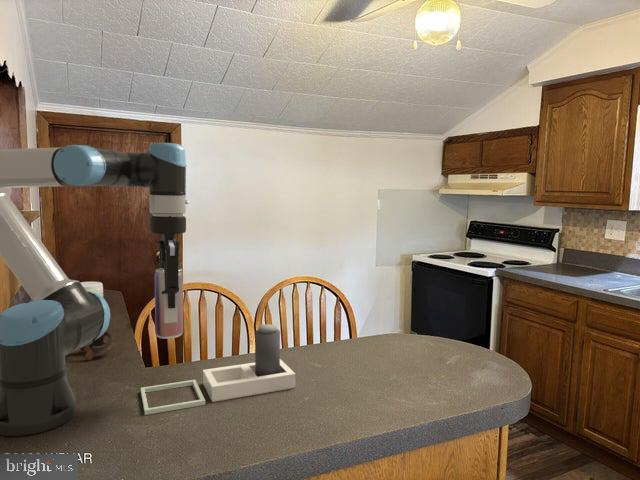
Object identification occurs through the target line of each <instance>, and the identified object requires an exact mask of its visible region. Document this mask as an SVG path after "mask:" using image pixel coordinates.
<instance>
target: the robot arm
mask: <svg viewBox="0 0 640 480" xmlns="http://www.w3.org/2000/svg"><path fill="white" fill-rule="evenodd" d="M186 176H187V162H186V149H185V147H184V146H183V145H181V144H180V143H174V142H173V143H172V142H152V143H150V144H149V147H148V151H147V152H131V151H129V152H128V151H119V150H114V149H113V150H112V149H106V148H99V147H92V146H90V145H86V144H68V145H65V146H64V147H61V146H60V147H37V148H33V147H32V148H30V147H29V148H6V149H4V148H1V149H0V257H1V259H2V260H3V262H4V263H5V264H6V266H7V268H9V270H10V271H11V273H12V274H13V275H14V276H15V279H17V281H18V282H19V284H20V285H21V287H22V288H23V289H24V290H25V292H26V293H27V295H29V297H30V299H31V301H29V302H23V303H19V304H16V305H13V306H11V307H8V308H6V309H5V310H3V311H2V312H0V436H5V437H20V436H21V437H22V436H30V435H34V434H38V433H39V434H40V433H44V432H46V431H49V430H53V429H54V428H57V427H60V426H61V425H62V426H63V424H65V423H66V422H68V421H70V420H71V419H72V418H74V416H75V415H76V413H77V399H76V396H75V394H74V391H73V390H72V388H71V386H70V383H69V380H68V378H67V375H66V356H67V355H69V354H71V353H73V352H76V351H77V350H80V349H79V348H81V347H83V346H85V345H89V344H91V343H92V342H93V341H95V340H96V339H97V338H99V337H100V336H102V335H103V334H104V333H105V331H108V329H109V328H108V327H109V325H110V321H111V311H110V310H111V309H110V307H109V304H108V302H107V301H106V299H105V298H104V296H103V297H102V296H100V295H99V294H97V293H93V292H87V291H86V290H85V289H84V287H83V286H82V284H81V283H80V281H79V280H74V279H70V278H69V277H68V276H67V275H66V273H65V271H64V270H63V269H62V268H61V266H60V265H59V264H58V262H57V261H56V259H55V258H54V257H53V255H52V254H51V253H50V251H49V250H48V249H47V247H46V246H45V245H44V243H43V242H42V240H41V239H40V238H39V236H38V235H37V234H36V232H35V231H34V230H33V228H32V226H31V225H30V224H29V223H28V221H27V220H26V218H25V217H24V216H23V214H22V213H21V211H20V210H19V209H18V207H17V206H16V205H15V203H14V202H13V201H12V199H11V196H12V192H13V190H12V188H45V187H46V188H47V187H48V188H51V187H110V188H119V187H120V188H124V187H125V188H149V213H150V214H152V215H151V216H150V217H149V229H150V230H149V231H150V233H152V234H157V235H161V238H160V239H159V240H158V244H157V246H158V258H159V268H163V269H164V277H165V291H161V292H162V294H164V323H173V322H178V306H177V292H179V278H178V268H179V250H180V244H179V241H178V240H176V237H177V236H176V235H179V234H181V235H182V234H184V233H186V231H187V218H186V216H185V214H186V211H187V209H186V208H187V205H188V204H189V200H188V199H186V195H187V194H186V193H187V191H186V188H187V187H186V183H187V179H186V178H187V177H186ZM170 286H172V287H170Z"/></svg>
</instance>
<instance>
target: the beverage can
mask: <svg viewBox="0 0 640 480" xmlns="http://www.w3.org/2000/svg"><path fill="white" fill-rule="evenodd" d="M154 272H155V273H154V312H155V313H154V326H155V327H154V328H155V329H154V331H155V336H157V337H156V338H159V339H164V340H165V339H167V340H168V339H175V338H179V337H180V336H182V334H183V333H184V274H183V269H182V268H181V267H178V278H179V292H177V306H178V322H173V323H164V294H162V292H161V291H165V277H164V269H163V268H160V267H159V268H156V269H155V271H154ZM170 287H172V286H170Z"/></svg>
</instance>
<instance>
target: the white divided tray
mask: <svg viewBox="0 0 640 480" xmlns="http://www.w3.org/2000/svg"><path fill="white" fill-rule="evenodd" d="M202 385H203V386H204V389H205V390H206V393H207V394H208V396H209V398H210V400H211V402H212V403H215V402H220V401H227V400H231V399H237V398H245V397H249V396H250V397H251V396H254V395H255V396H256V395H262V394H267V393H272V392H278V391H284V390H289V389H290V390H292V389H296V373H295V372H294V371H293V370H292V369H291V368H290V367H289V366H288V365H287V364H286V363H285V362H284V361H283V360H282V359H281V358H280V373H278V374H272V375H265V376H259V377H257V376H256V374H255V362H250V363H249V362H248V363H242V364H234V365H227V366H221V367H214V368H213V367H212V368H207V369H203V370H202Z"/></svg>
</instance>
